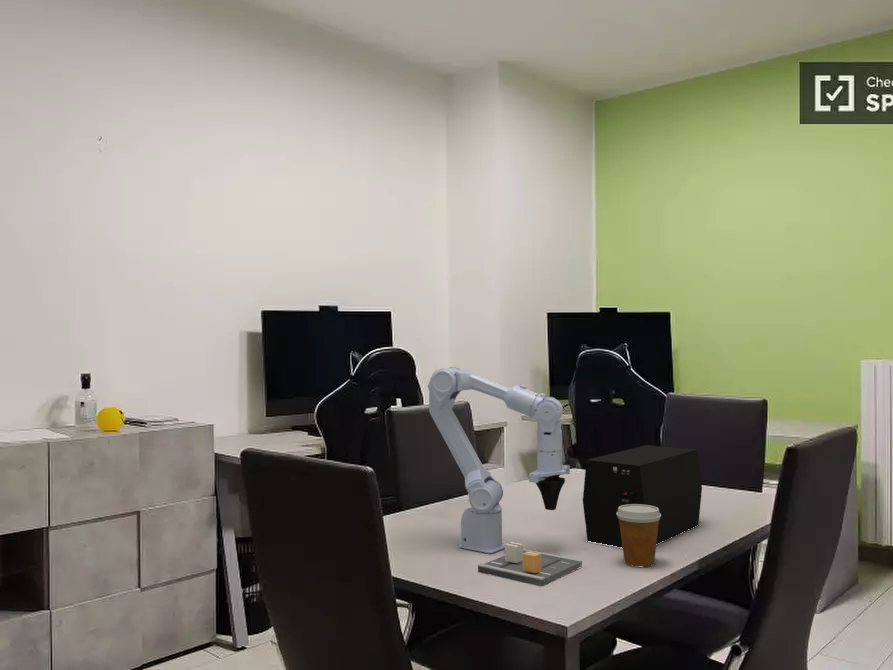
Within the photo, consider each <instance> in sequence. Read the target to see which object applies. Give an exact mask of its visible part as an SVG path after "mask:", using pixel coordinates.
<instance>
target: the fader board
mask: <svg viewBox="0 0 893 670" xmlns="http://www.w3.org/2000/svg"><path fill="white" fill-rule="evenodd" d="M528 551H531V552H536V553H541V562H542V570H541V571H539V572H537V573H531V572H526V571H523V561H521V562H519V563H513V562H508V561H505V555H502V556H500V557H497V558H494V559H493V560H490V561H487V562H484V563H478V565H477V571H478V573H483V574H486V575H490V574H491V576H495V577H500V578H505V579H509V580H512V581H517V582H522V583H526V584H530V585H535V586H539V587H544V586H546V585H548V584H550V583H552V582H554V581H556V580H558V579H560V578H562V577H564V576H563V575H565V574H567V575H568V573H569V572H571V571H573V570H575V571H577V570H578V569H577V568H579V567H581V568H583V560H582V559H578V558H572V557H568V556H562V555H557V554H552V553H547V552H540V551H535V550H531V549H528V548H527V549H525V548H523V553H525V552H528ZM576 569H577V570H576ZM579 569H580V568H579ZM573 572H574V571H573ZM571 573H572V572H571ZM569 574H570V573H569ZM561 576H562V577H561ZM565 576H566V575H565ZM557 578H558V579H557ZM553 580H554V581H553ZM551 581H552V582H551ZM549 582H550V583H549ZM547 583H548V584H547ZM545 584H546V585H545Z"/></svg>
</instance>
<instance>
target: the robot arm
mask: <svg viewBox="0 0 893 670" xmlns="http://www.w3.org/2000/svg"><path fill="white" fill-rule="evenodd" d="M527 387H528V386H527V385H525V384H520V386H519V385H517V384H515V385H513V386H511V387H508V386H505V385H503V384H500V383H498V382H496V381H493V380H491V379H489V378H488V377H485V376H483V375H480V374H478V373H475V372H472V371H471V370H466V369H461V368H459V367H456V366H452V367H446V368H443V367H442V368H439V369H437V370H435V371H433V373H432V375H431V377H430V379H429V381H428V385H427V388H428V391H429V393H428V394H429V395H428V396H429V398H428V401H429V403H428V404H429V405H428V410H429V414H430V416H431V418H432V420H433V421H434V424H435V425H436V427H437V429H438V430H439V433H440V434H441V436H442V438H443V440H444V442H445V443H446V446H447V447H448V449H449V451H450V453H451V455H452V457H453V458H454V460H455V462H456V464H457V466H458V467H459V470H460V471H461V473H462V475H463V477H464V487H465V490H466V491H467V494H468V503H469V504H470V507H468V508H466V509H464V511H463V512H462V515H461V518H460V540H461V541H460V544H459V546H458V547H459V548H461V549H466V550H470V551H474V552H480V553H485V554H494V553H497V552H499V551H502V550H505V544H506V543H504V542H503V508H502V507H501V505H500V502H501V500H502V499H503V496H504V490H503V489H504V488H503V486H502V484H501V483H500V482H499V481H498V480H496V479H495V478H494V477H493V475H492V474H491V472H490V471H489V470H488V469H487V468H486V467H484V465H483V463H482V462H481V460H480V458H479V456H478V454H477V452H476V451H475V448H474V447H473V445H472V443H471V441H470V440H469V437H468V436H467V434H466V432H465V430H464V428H463V427H462V425H461V423H460V421H459V419H458V417H457V416H456V414H455V412H454V410H453V408H454V405H455V402H456V400H457V397H458V395H459V394H460V393H461V392H462V391H463V392H464V391H469V390H474V391H476V392H479V393H482V394H486V395H488V396H491V397H493V398H496V399H499V400H501V401H503V402H504V403H505V406H506V408H508V409H510V410H513V411H515V412H517V413H519V414H522V415H525V416H528V417H529V418H535V420H536V421H537V422H536V423H537V430H536V445H537V446H536V447H537V448H536V449H537V450H536V455H537V458H536V459H537V464H536V465H537V469H535V470H534V471H532V472H530V473H528V481H529V483H533V484H535V485H536V486H537V488H538V490H539V492H540V494H541V497H542V501H543V505H544V508H545V510H548V511H555V510H556V509H557V505H558V501H559V496H560V494H561V491H562V488H563V486H564V485H565V483H566V478H565V477H560V476H562V475H569V474H570V473H571V466H570V465H568V464H566V465H565V464H563V431H562V420H561V419H560V418H561V417H562V415H563V413H564V408H563V405H562V403H561V402H560V401H559V400H558V399H556V398H555V397H553V396H547V397H546V394H545V393H537V392H535V391H532V390H531V389H527Z"/></svg>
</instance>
